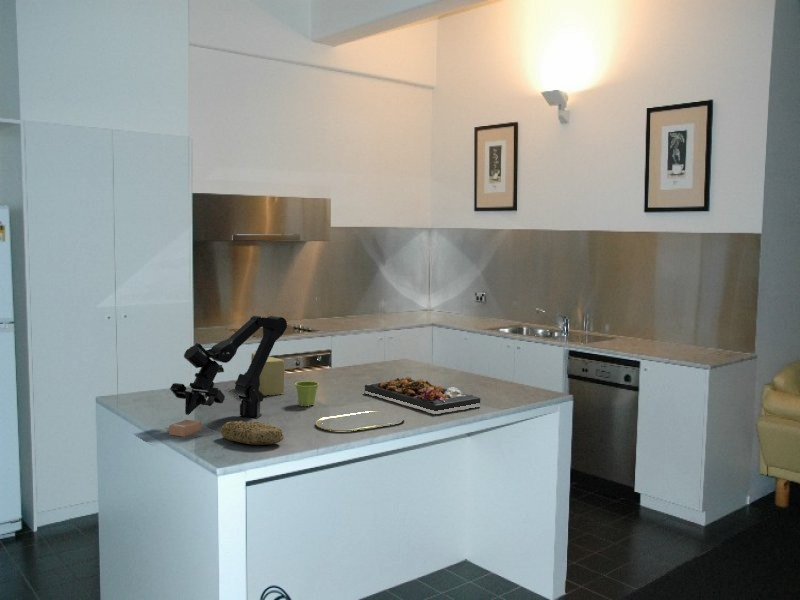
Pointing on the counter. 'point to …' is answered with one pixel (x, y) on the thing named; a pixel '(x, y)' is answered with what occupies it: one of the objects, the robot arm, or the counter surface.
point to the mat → (201, 432)
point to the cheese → (272, 376)
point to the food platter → (422, 394)
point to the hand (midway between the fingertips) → (186, 414)
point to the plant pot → (306, 392)
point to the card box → (185, 428)
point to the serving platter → (344, 416)
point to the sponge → (251, 433)
